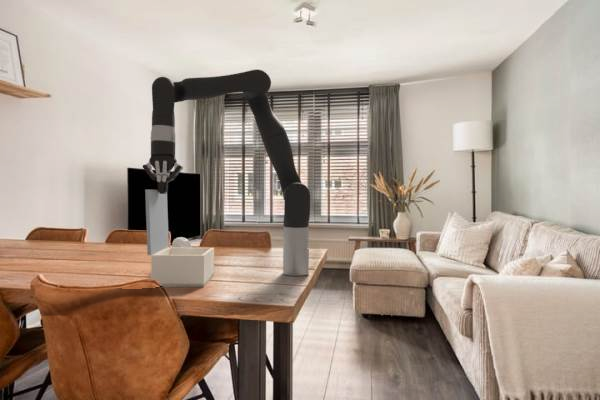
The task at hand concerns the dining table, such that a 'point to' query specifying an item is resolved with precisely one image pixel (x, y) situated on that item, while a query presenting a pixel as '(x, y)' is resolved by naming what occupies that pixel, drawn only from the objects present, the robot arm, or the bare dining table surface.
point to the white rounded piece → (181, 243)
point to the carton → (183, 267)
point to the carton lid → (156, 221)
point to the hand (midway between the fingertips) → (162, 193)
